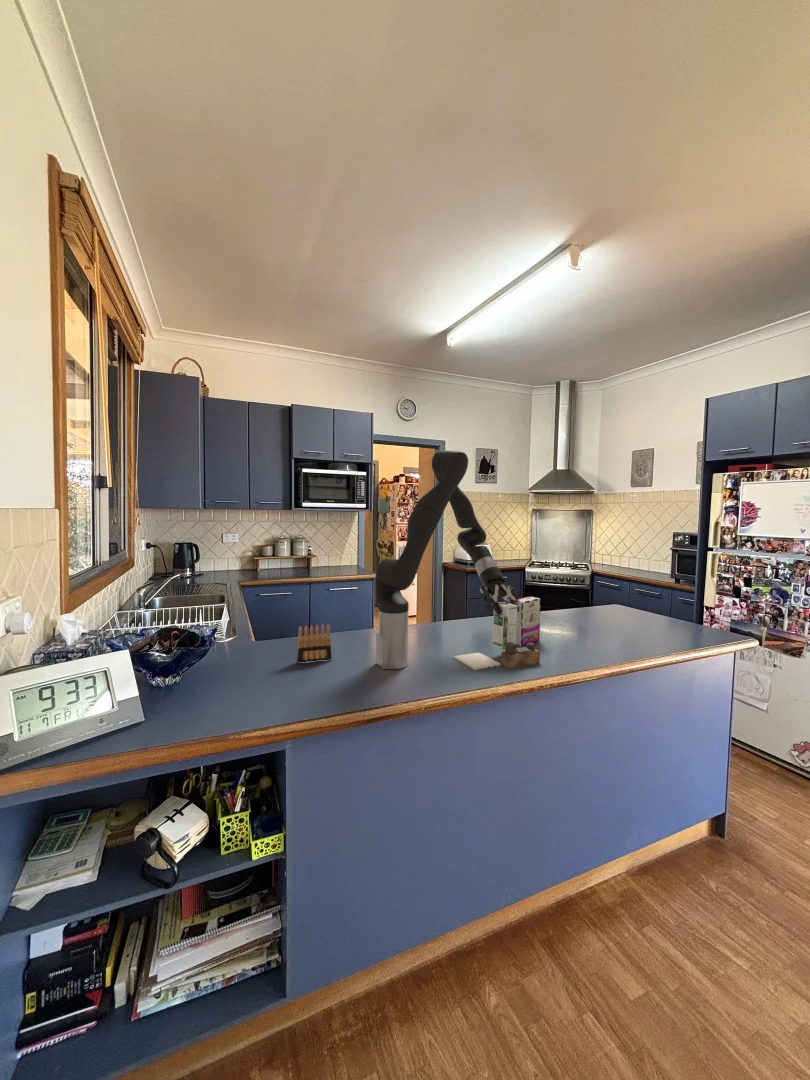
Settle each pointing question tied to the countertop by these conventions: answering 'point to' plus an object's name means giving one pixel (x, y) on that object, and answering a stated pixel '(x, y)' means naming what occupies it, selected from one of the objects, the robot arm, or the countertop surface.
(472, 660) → the mat
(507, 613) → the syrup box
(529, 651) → the body
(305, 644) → the ammunition clip
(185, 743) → the countertop surface
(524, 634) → the candy bar box
